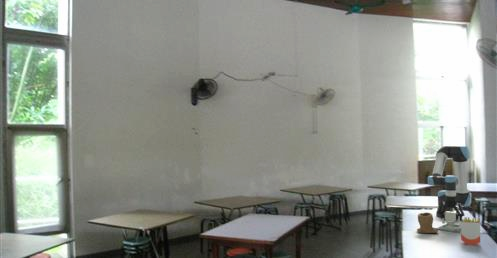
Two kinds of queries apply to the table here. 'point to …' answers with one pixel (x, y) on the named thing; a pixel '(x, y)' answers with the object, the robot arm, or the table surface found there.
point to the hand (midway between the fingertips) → (451, 224)
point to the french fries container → (470, 231)
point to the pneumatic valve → (450, 217)
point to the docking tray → (450, 228)
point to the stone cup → (426, 223)
